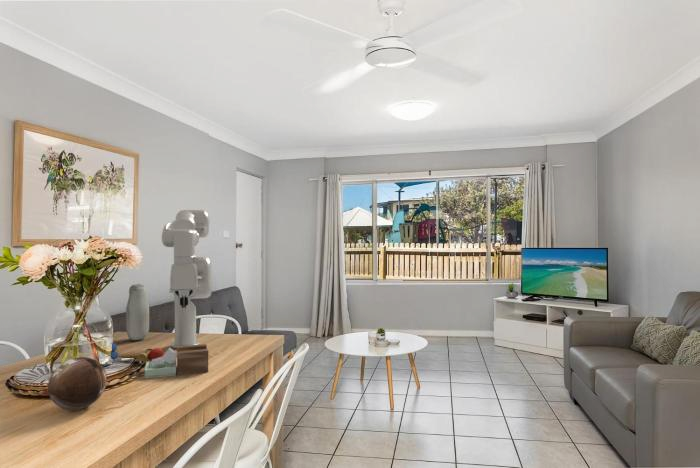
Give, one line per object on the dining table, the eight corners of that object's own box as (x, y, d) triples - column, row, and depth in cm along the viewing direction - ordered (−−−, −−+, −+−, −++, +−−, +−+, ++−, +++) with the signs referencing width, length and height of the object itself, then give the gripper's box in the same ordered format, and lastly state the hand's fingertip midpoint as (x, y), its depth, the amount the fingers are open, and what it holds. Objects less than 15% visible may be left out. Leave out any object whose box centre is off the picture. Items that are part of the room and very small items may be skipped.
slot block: (177, 366, 176) (177, 346, 176) (206, 363, 180) (206, 343, 180) (177, 375, 165) (177, 353, 165) (208, 371, 169) (208, 350, 169)
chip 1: (165, 366, 171) (154, 369, 169) (163, 356, 171) (151, 359, 169) (165, 369, 167) (153, 372, 166) (162, 359, 167) (151, 362, 165)
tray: (146, 369, 172) (146, 361, 172) (175, 366, 176) (175, 359, 176) (144, 378, 161) (144, 370, 161) (176, 375, 165) (176, 367, 165)
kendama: (116, 367, 179) (157, 363, 177) (116, 351, 181) (157, 347, 178) (128, 366, 187) (168, 361, 184) (128, 350, 188) (167, 346, 186)
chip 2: (171, 361, 171) (162, 356, 170) (177, 353, 172) (169, 347, 171) (171, 364, 167) (162, 358, 166) (178, 355, 168) (169, 349, 167)
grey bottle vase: (137, 337, 229) (137, 282, 229) (153, 338, 225) (153, 283, 226) (121, 341, 219) (121, 284, 220) (137, 342, 216) (137, 285, 216)
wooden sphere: (34, 415, 128) (35, 363, 128) (79, 397, 142) (79, 350, 143) (76, 420, 124) (76, 366, 124) (117, 401, 138) (117, 353, 139)
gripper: (203, 259, 181) (203, 304, 182) (163, 260, 176) (163, 306, 176) (204, 261, 174) (204, 307, 175) (163, 262, 169) (163, 310, 169)
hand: (183, 307), depth 176 cm, fingers closed
